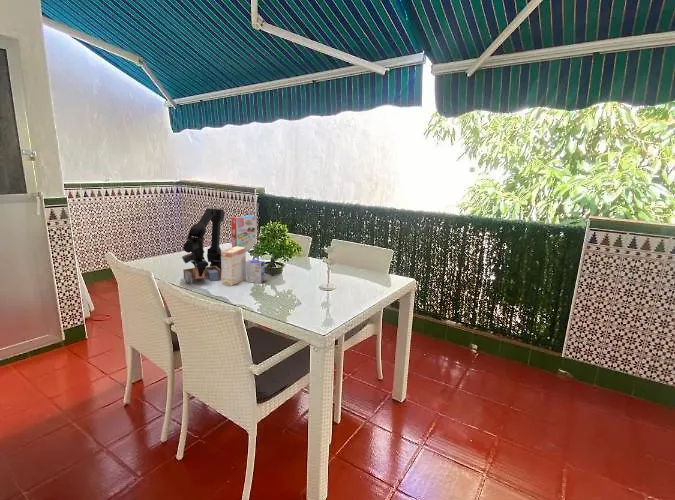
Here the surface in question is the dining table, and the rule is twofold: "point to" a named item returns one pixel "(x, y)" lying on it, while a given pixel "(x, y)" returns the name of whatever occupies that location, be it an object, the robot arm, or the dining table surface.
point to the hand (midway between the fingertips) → (199, 275)
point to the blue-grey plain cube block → (212, 275)
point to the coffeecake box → (233, 265)
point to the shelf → (205, 271)
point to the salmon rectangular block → (196, 274)
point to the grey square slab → (188, 277)
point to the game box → (244, 231)
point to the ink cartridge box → (255, 271)
